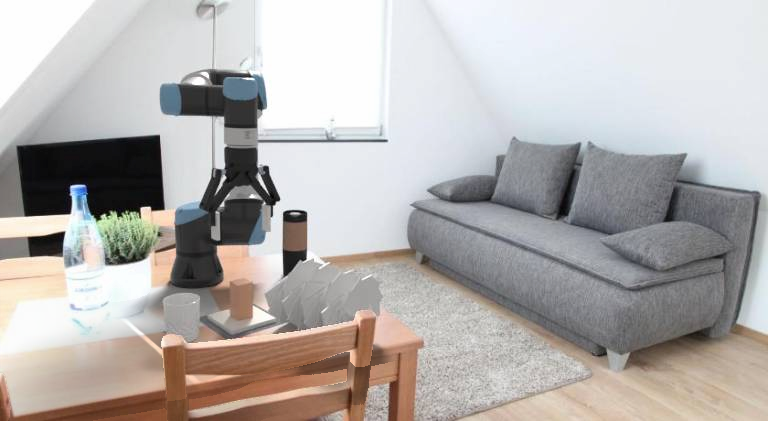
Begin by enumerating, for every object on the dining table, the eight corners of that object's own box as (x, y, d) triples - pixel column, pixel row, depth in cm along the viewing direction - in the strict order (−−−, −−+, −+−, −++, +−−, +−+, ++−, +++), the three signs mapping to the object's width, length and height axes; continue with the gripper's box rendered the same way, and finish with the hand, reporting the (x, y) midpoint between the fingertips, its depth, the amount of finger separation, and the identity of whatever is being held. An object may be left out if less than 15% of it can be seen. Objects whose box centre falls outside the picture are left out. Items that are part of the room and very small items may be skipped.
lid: (207, 318, 138) (206, 280, 136) (250, 307, 146) (249, 270, 144) (231, 334, 130) (231, 294, 127) (275, 321, 138) (275, 283, 136)
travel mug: (294, 268, 181) (295, 208, 177) (311, 273, 177) (312, 212, 173) (277, 274, 175) (277, 212, 171) (294, 279, 171) (295, 216, 167)
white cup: (189, 349, 123) (188, 307, 121) (157, 345, 125) (155, 303, 123) (207, 335, 131) (206, 294, 129) (176, 331, 132) (175, 291, 130)
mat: (196, 321, 138) (195, 318, 138) (252, 306, 149) (252, 303, 149) (228, 343, 127) (228, 340, 127) (287, 325, 138) (287, 322, 138)
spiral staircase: (301, 331, 145) (378, 355, 130) (252, 321, 131) (333, 348, 116) (320, 262, 148) (398, 279, 133) (275, 246, 134) (356, 263, 119)
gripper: (197, 150, 118) (200, 246, 122) (294, 145, 135) (294, 230, 139) (181, 146, 123) (184, 239, 127) (277, 142, 140) (277, 224, 145)
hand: (241, 235), depth 133 cm, fingers open, 13 cm apart
